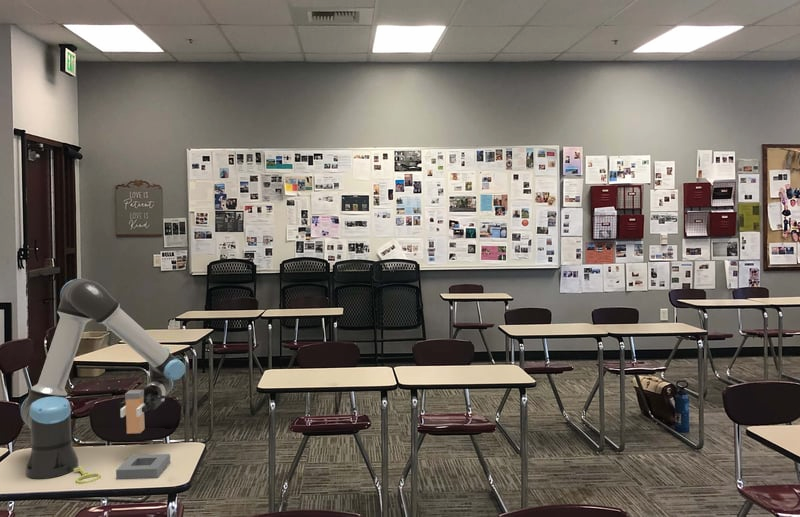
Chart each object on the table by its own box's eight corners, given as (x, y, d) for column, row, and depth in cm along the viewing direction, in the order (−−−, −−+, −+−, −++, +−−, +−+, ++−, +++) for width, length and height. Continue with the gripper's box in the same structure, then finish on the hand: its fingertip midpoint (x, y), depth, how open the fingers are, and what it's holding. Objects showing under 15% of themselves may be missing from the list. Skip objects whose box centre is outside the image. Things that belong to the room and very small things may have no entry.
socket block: (116, 479, 196) (116, 470, 196) (131, 463, 209) (131, 455, 209) (157, 477, 197) (157, 468, 197) (170, 462, 210) (170, 453, 210)
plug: (126, 433, 210) (125, 393, 210) (131, 429, 215) (130, 389, 214) (140, 433, 211) (139, 393, 210) (145, 428, 215) (143, 389, 215)
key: (80, 471, 204) (80, 465, 204) (103, 478, 198) (103, 472, 198) (59, 479, 198) (59, 472, 198) (83, 487, 192) (82, 480, 192)
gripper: (176, 403, 231) (156, 423, 208) (128, 405, 230) (103, 424, 207) (175, 384, 231) (155, 401, 208) (127, 385, 229) (102, 403, 206)
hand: (129, 413), depth 207 cm, fingers closed on plug, 4 cm apart
